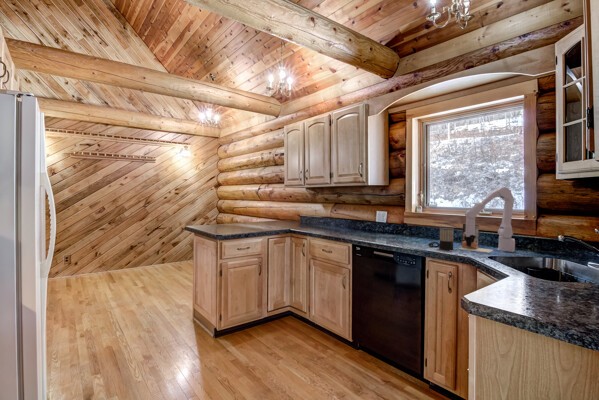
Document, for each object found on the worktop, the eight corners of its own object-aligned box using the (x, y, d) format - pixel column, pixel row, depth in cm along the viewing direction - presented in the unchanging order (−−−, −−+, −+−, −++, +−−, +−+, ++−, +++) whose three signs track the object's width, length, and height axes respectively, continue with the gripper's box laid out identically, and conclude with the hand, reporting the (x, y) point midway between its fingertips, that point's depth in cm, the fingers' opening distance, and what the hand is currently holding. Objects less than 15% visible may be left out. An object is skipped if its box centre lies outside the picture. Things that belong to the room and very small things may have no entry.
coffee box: (461, 244, 235) (462, 223, 235) (467, 244, 237) (468, 223, 237) (472, 246, 227) (472, 224, 226) (478, 245, 229) (479, 224, 229)
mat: (493, 250, 211) (493, 249, 211) (489, 253, 200) (489, 252, 200) (463, 246, 223) (463, 246, 223) (457, 249, 212) (457, 248, 212)
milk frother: (454, 251, 206) (455, 229, 205) (429, 249, 211) (429, 228, 211) (451, 247, 219) (452, 227, 219) (428, 246, 224) (428, 226, 224)
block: (477, 248, 216) (477, 242, 216) (476, 249, 212) (476, 243, 212) (463, 246, 222) (463, 241, 222) (461, 247, 218) (462, 241, 218)
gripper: (466, 225, 225) (466, 244, 225) (461, 227, 214) (460, 246, 214) (477, 226, 220) (476, 245, 220) (472, 228, 209) (472, 247, 210)
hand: (469, 245), depth 217 cm, fingers closed on block, 5 cm apart
